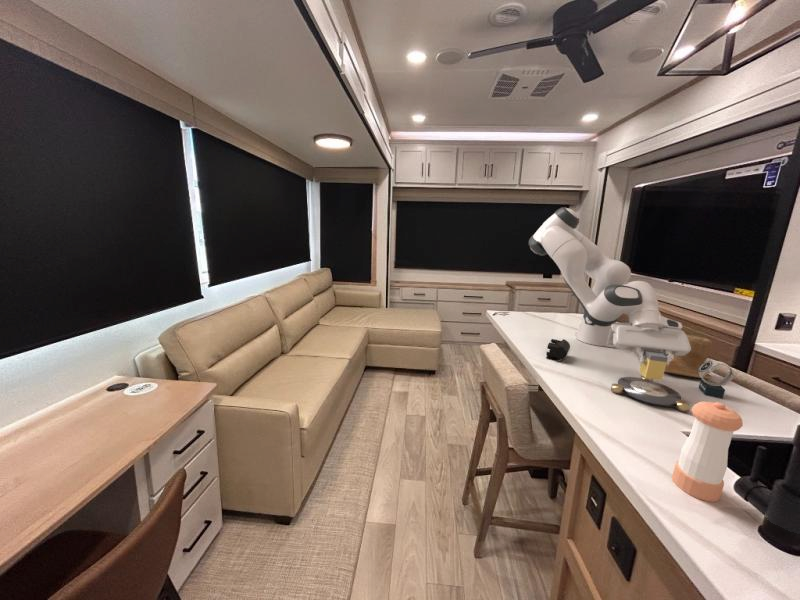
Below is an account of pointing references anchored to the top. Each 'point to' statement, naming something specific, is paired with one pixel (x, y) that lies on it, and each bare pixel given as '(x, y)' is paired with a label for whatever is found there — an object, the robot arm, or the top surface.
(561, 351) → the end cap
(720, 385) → the watch
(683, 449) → the pepper shaker
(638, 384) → the levelling base
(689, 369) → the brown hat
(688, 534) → the top surface
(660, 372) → the block
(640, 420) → the top surface
